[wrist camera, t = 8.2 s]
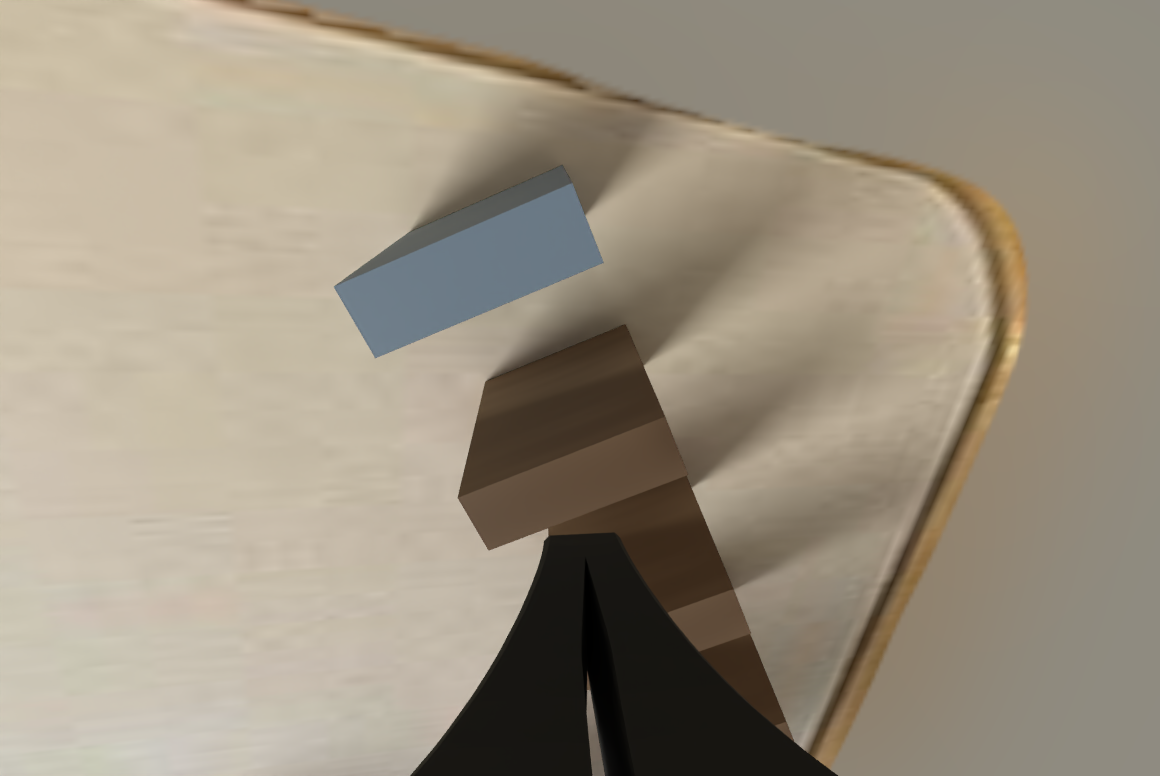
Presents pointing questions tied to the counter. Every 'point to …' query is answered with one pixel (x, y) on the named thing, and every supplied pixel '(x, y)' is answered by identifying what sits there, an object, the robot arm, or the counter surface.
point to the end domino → (471, 262)
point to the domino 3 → (747, 677)
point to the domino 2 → (672, 559)
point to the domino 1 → (565, 440)
